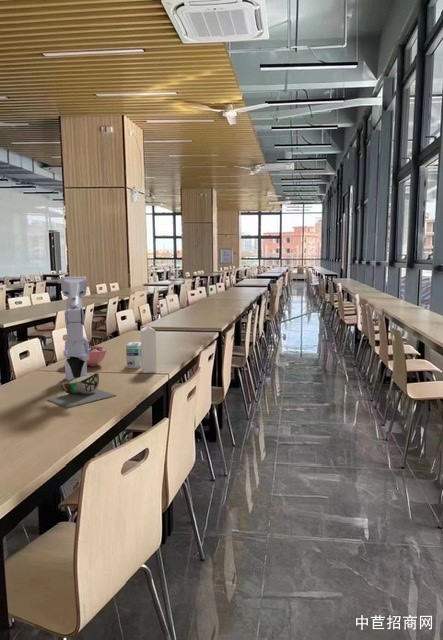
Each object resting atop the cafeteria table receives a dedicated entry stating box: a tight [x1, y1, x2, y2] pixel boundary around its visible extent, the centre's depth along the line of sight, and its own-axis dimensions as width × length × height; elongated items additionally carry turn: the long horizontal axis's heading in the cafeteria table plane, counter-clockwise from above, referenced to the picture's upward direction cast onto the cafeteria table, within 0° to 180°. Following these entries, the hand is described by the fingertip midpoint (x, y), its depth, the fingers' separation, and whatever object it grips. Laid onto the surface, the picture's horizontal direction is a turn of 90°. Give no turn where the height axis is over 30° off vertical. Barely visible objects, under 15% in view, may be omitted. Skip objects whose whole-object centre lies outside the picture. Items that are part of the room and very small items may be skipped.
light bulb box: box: [125, 341, 142, 369], centre depth 234 cm, size 11×7×11 cm, turn 179°
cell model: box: [86, 345, 108, 367], centre depth 234 cm, size 17×20×11 cm
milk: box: [140, 322, 158, 374], centre depth 221 cm, size 6×6×22 cm
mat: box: [46, 388, 117, 409], centre depth 180 cm, size 14×20×1 cm
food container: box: [60, 372, 100, 395], centre depth 185 cm, size 12×6×10 cm
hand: (76, 377), depth 181 cm, fingers closed
